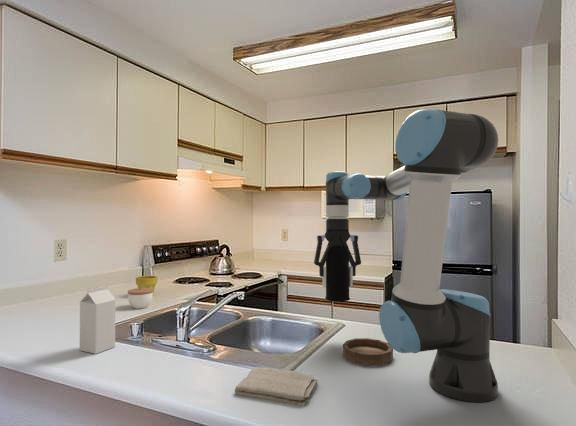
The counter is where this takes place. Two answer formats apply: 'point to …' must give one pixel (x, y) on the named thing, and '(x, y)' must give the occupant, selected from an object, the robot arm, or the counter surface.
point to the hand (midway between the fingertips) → (337, 286)
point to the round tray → (367, 351)
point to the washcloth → (277, 385)
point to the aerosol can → (337, 274)
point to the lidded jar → (140, 297)
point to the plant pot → (147, 282)
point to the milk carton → (97, 321)
